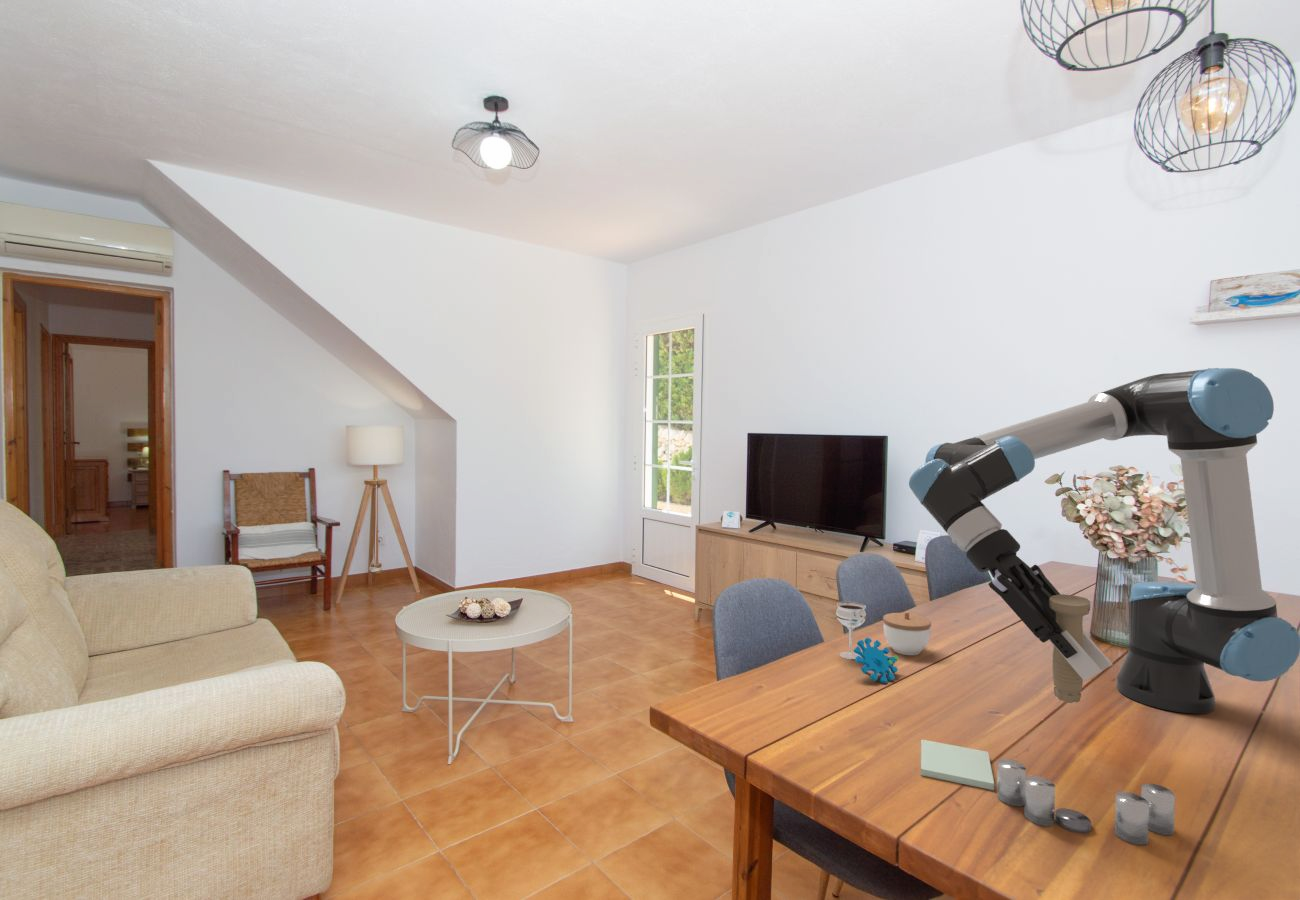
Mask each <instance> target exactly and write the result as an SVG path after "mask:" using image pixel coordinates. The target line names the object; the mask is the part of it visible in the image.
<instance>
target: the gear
mask: <svg viewBox="0 0 1300 900" xmlns="http://www.w3.org/2000/svg"><path fill="white" fill-rule="evenodd" d="M871 643H872V638H870V637H865V638H864V639H861V640H858V641H857V642H856V644H857V646H856V647H855V648H854V649H853V653H857V654H859V655H860V656H861V657H860V656H857V657H856V658H855V663H856V664H863V666H862V667H861V668H860V670H861V672H862V673H863V674H866V673H868V672H871V671H872V672H873V673H872V674H871V675H869V678H870V679H871V680H872V681H873V682H876V681H877V680H878V679H879V682H880V683H882V684H886V683H888V681H891V682H892V681H893V680H894V679H896V677H895V674H896V673H897V672H898V671H899V669H898V668H897V666H894V664H896V662H897V661H899V656H898V655H894V656H889V655H888V654H890V652H891V651H890V649H889V648H888V647H887V646H885V647H883V649H879V647H881V645H882V643H881V642H880V641H879V640H878V639H876V640H875V641H874V642H873V646H872V645H871ZM878 675H880V676H881V677H880V678H878ZM886 675H887V676H886Z"/></svg>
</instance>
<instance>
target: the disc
mask: <svg viewBox="0 0 1300 900" xmlns="http://www.w3.org/2000/svg"><path fill="white" fill-rule="evenodd" d="M1054 822H1056V824H1057V825H1059V827H1060V828H1063V829H1065V830H1066V831H1068V832H1071V833H1076V834H1083V835H1084V834H1085V835H1086V834H1089V833H1090V832H1091V829H1092V828H1091V826H1092V822H1091V819H1090V818H1089V817H1088V816H1087V815H1085V814H1084V813H1082V812H1079V811H1077V810H1074V809H1071V808H1065V807H1063V808H1057V809H1055V810H1054Z"/></svg>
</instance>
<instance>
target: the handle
mask: <svg viewBox="0 0 1300 900" xmlns="http://www.w3.org/2000/svg"><path fill="white" fill-rule="evenodd" d="M1049 606H1050V608H1051V609H1052V610H1054V611H1055V612H1056V622H1057V624H1058V625H1059V626H1060V628H1061V629H1062V632H1064V631H1066V630H1067V631H1068V632H1069V633H1070V635H1071V636H1072V637H1073V638H1074V639H1075V640H1076V641H1077V643H1078V644H1079V645H1080V646H1081V647H1082V648H1083V631H1084V629H1083V628H1084V627H1083V620H1084V619H1083V617H1085V616H1087V615H1089V614H1090V611H1091V601H1090V600H1089V599H1088V598H1085V597H1083V596H1079V595H1072V594H1061V593H1060V595H1053V596H1051V597H1050V598H1049ZM1062 632H1061V633H1062ZM1052 650H1053V651H1052V681H1053V685H1054V687H1053V693H1054V696H1055V697H1057V699H1058V700H1059V701H1062V702H1066V703H1069V704H1073V703H1079V702H1080V701H1081V698H1082V693H1081V691H1082V688H1083V682H1084V680H1083V679H1082V678H1081V677H1080V676H1079V674H1078V673H1077V672H1076V671H1075V670H1074V669H1073V667H1072V666H1071V665H1070V664H1069V663H1068V661H1067V660H1066V659H1065V658H1064V657H1063V656H1062V654H1061V653H1060V652H1059V651H1058V650H1057V649H1056V647H1055V646H1054V645H1053V649H1052Z"/></svg>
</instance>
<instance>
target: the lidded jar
mask: <svg viewBox="0 0 1300 900" xmlns="http://www.w3.org/2000/svg"><path fill="white" fill-rule="evenodd" d="M882 621H883V633H884V639H885V640H886V642H887V644H888V645H889V647H891V648H892V650H893V652H895V653H897V654H900V655H904V656H918V655H919V654H920V653H921V652H922V651H923V650H925V648H926V647H927V645H928V643H930V642H929V641H930V638H931V637H930V636H931V627H932V621H931V620H930V619H928V618H927V617H924V616H922V615H918V614H914V613H910V612H909V611H904V612H890V613H886V614H884V615H883V617H882Z"/></svg>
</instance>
